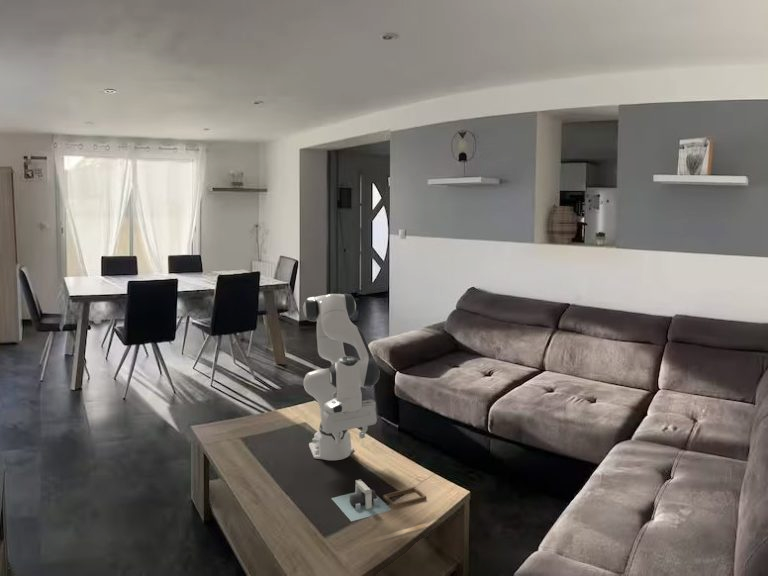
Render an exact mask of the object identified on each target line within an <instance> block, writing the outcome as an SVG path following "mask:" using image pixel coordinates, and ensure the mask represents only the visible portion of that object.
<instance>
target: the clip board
mask: <svg viewBox="0 0 768 576" xmlns="http://www.w3.org/2000/svg"><path fill="white" fill-rule="evenodd" d="M362 492H363V491H362ZM354 494H356V492H355V491H354V492H351V493H346V494H344V495H338V496H335V497H331V500H332V501H333V502H334V503H335V504H336V506H337V507H338V508H339V509H340V510H341V511H342V513H344V515H345V516H346V517H347V518H348V519H349V521H350V522H355V521H358V520H362V519H365V518H368V517H373V516H376V515H379V514H384V513H387V512H391V511H392V510H393V509H392V508H390V506H388V504H387V503H385V502H384V501H383V500H382V499H381V498H380V497H379V496H378V495H377V498H376V499H373V502H372V508H370V509H366V505H365V504H362V505H361V504H360V503H357V504H356V506H354V507H352V505H351V503H350V496H351V495H354Z"/></svg>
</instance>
